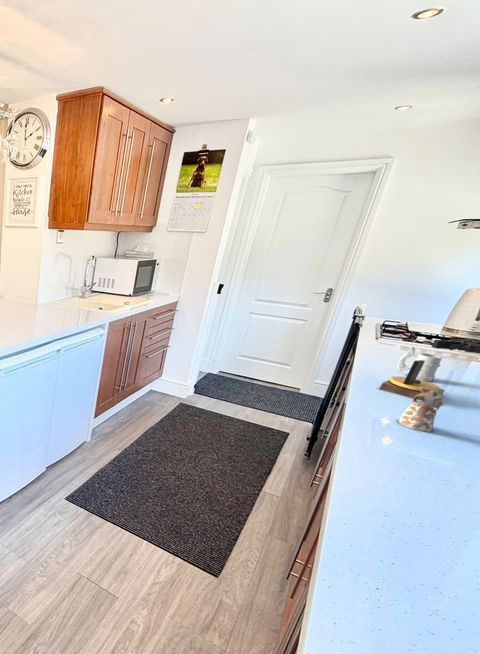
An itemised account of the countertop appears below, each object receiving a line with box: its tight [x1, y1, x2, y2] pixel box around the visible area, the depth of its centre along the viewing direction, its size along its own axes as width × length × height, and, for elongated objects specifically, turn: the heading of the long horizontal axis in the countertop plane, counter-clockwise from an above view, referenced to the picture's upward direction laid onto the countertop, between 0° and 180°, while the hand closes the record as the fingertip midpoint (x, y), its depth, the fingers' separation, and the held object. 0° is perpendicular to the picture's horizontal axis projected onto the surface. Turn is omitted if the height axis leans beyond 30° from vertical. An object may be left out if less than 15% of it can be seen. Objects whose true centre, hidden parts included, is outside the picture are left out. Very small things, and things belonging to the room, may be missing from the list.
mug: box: [396, 346, 443, 382], centre depth 165 cm, size 8×12×12 cm, turn 39°
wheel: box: [389, 359, 442, 392], centre depth 147 cm, size 13×13×10 cm
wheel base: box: [379, 379, 446, 401], centre depth 150 cm, size 14×14×2 cm
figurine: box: [398, 388, 444, 433], centre depth 121 cm, size 7×7×12 cm
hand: (435, 343), depth 140 cm, fingers closed
